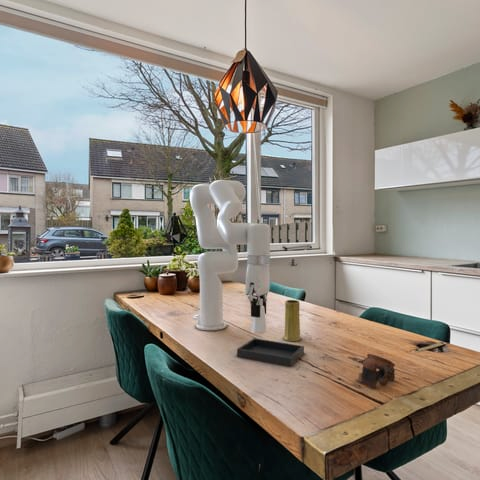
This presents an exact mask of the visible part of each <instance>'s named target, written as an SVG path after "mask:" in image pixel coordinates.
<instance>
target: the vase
mask: <svg viewBox="0 0 480 480" xmlns="http://www.w3.org/2000/svg"><path fill="white" fill-rule="evenodd" d="M284 303H285V304H284V306H285V308H284V311H285V312H284V333H283V334H284V336H283V339H284V340H285V341H288V342H298V341H300V340H301V324H300V323H301V322H300V321H301V319H300V301H299V300H298V299H297V300H296V299H287V300H285V302H284Z"/></svg>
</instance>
